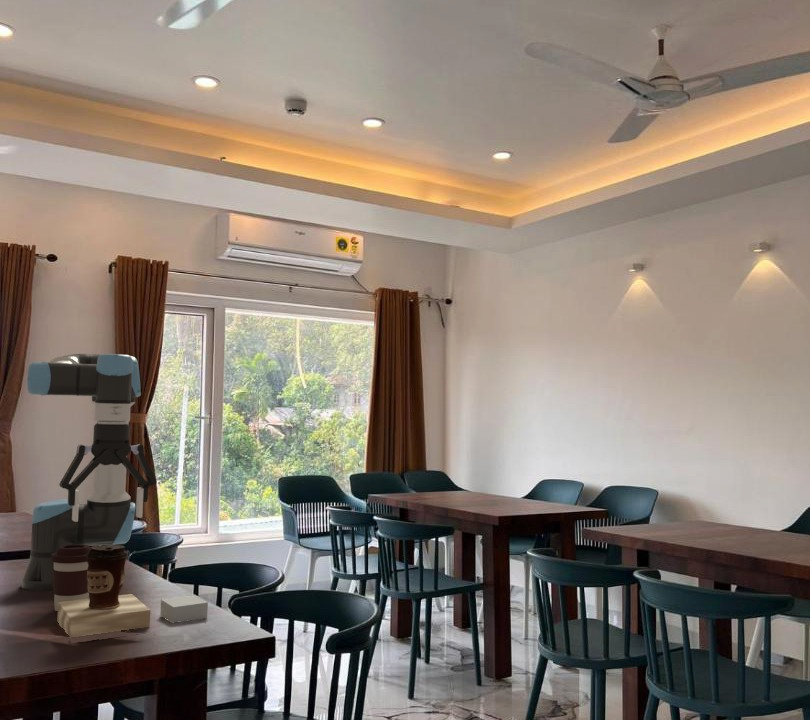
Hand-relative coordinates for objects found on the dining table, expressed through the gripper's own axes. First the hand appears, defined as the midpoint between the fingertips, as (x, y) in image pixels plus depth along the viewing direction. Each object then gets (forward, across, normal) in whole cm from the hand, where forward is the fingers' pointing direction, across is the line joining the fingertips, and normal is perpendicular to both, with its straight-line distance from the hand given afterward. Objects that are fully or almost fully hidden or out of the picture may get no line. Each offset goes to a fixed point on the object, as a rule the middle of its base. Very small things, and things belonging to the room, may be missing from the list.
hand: (107, 518), depth 170 cm
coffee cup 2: (+19, 0, -1) cm, 19 cm away
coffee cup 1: (+24, -3, +20) cm, 31 cm away
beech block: (+24, 0, 0) cm, 24 cm away
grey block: (+24, +17, -3) cm, 30 cm away
